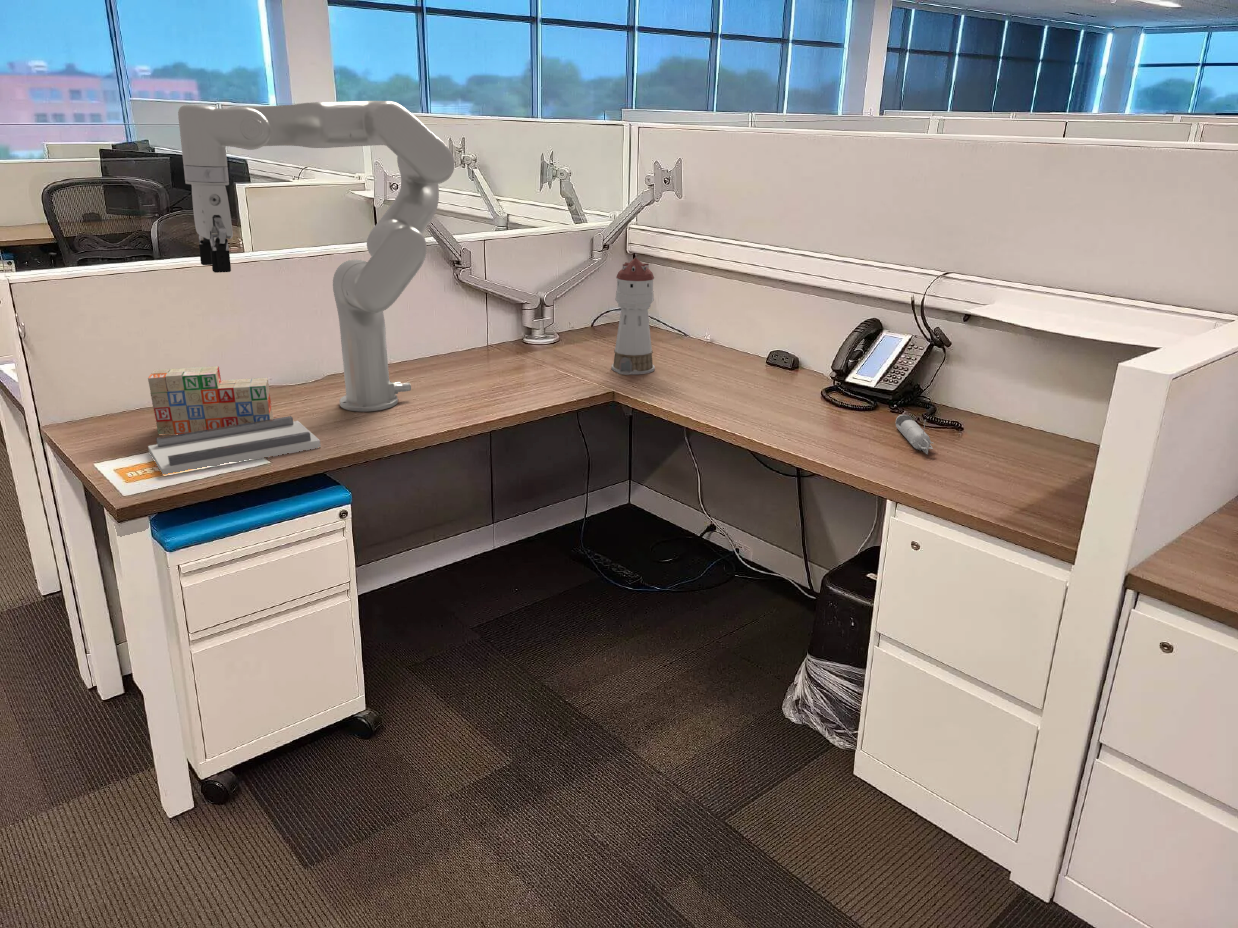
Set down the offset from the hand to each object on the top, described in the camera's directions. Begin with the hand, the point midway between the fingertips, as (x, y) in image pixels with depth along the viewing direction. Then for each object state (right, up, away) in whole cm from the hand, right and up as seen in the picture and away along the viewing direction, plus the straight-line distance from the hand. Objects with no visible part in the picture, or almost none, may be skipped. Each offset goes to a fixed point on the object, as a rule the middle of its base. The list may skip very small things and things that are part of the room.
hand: (215, 268), depth 174 cm
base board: (+5, -35, -2) cm, 36 cm away
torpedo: (+139, -34, +11) cm, 143 cm away
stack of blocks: (-4, -31, +10) cm, 33 cm away
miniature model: (+82, -14, +58) cm, 101 cm away
